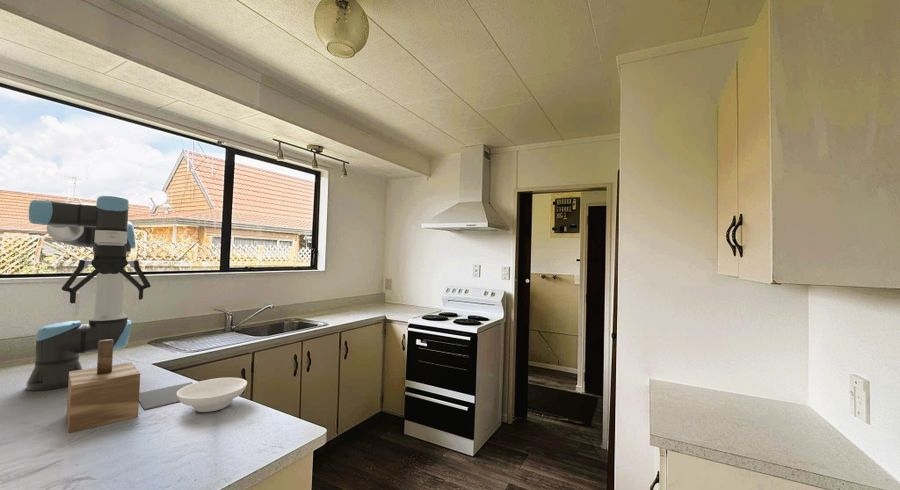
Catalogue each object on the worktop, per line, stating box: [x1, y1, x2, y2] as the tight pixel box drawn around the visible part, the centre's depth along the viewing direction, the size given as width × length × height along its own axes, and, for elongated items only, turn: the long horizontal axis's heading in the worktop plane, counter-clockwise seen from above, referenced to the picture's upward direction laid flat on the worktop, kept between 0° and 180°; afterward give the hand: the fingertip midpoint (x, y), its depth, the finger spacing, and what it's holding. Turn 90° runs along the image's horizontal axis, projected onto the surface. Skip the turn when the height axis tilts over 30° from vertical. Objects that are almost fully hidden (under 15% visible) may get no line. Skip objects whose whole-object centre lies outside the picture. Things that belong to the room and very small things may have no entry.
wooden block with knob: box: [66, 339, 141, 434], centre depth 113 cm, size 18×15×23 cm
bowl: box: [177, 377, 248, 413], centre depth 119 cm, size 20×20×7 cm
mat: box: [139, 381, 194, 411], centre depth 129 cm, size 19×17×1 cm
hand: (107, 312), depth 113 cm, fingers open, 13 cm apart
